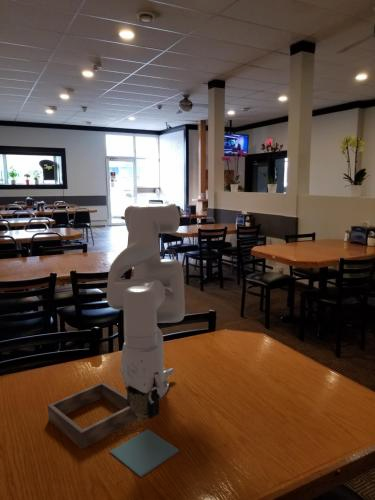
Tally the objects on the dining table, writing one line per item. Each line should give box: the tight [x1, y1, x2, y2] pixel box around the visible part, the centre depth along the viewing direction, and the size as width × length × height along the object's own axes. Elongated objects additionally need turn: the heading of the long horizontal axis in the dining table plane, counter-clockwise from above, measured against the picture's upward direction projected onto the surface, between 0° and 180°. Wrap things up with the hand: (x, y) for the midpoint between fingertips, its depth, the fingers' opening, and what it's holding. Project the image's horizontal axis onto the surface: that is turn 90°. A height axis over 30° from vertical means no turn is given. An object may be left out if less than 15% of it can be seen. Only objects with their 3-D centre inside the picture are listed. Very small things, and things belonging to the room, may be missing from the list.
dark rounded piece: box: [125, 385, 155, 420], centre depth 92 cm, size 8×7×8 cm
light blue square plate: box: [109, 428, 180, 478], centre depth 94 cm, size 12×12×1 cm
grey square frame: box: [47, 381, 139, 450], centre depth 107 cm, size 18×18×4 cm
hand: (143, 409), depth 92 cm, fingers closed on dark rounded piece, 6 cm apart
